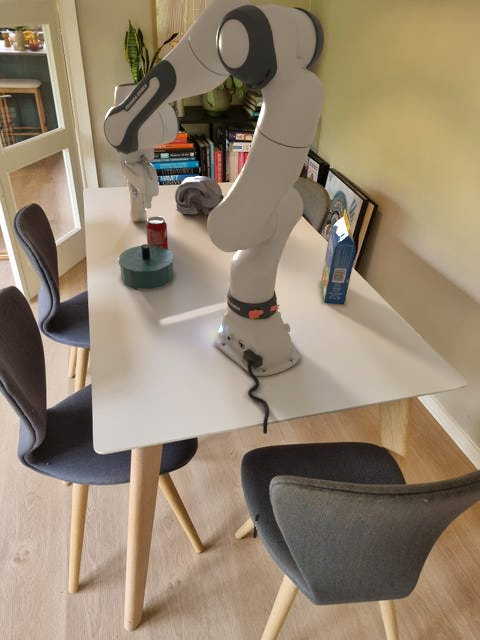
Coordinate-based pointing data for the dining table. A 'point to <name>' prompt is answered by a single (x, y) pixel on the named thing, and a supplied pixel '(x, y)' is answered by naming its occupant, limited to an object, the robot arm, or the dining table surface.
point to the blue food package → (338, 262)
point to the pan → (147, 278)
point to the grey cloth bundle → (198, 195)
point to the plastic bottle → (136, 206)
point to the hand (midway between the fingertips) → (141, 201)
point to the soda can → (157, 232)
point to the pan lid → (145, 259)
